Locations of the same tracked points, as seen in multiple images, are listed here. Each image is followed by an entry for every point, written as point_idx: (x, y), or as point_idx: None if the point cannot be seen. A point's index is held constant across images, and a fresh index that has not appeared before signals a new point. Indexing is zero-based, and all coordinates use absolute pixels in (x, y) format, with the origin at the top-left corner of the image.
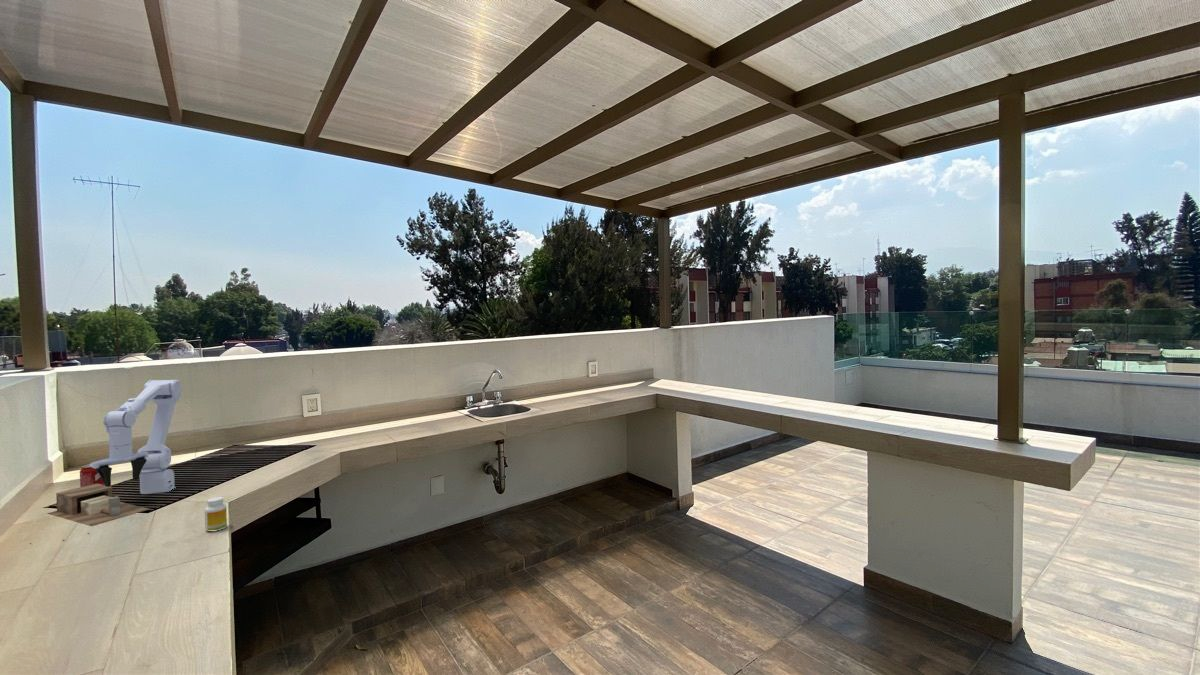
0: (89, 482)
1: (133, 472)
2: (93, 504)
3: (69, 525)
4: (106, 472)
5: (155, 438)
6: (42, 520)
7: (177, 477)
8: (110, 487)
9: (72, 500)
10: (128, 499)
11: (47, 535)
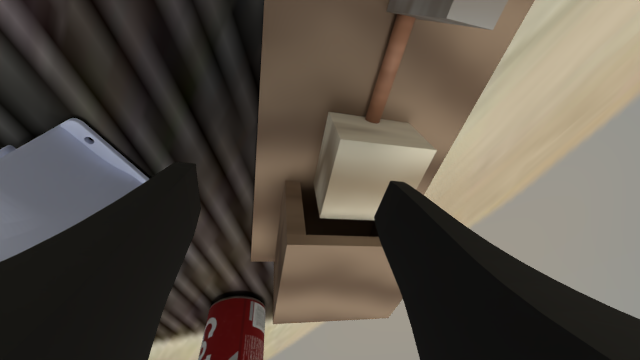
0: (252, 350)
1: (172, 264)
2: (422, 145)
3: (467, 118)
4: (581, 300)
5: None
6: None
7: None
8: (295, 244)
9: None
10: (207, 206)
11: (562, 84)
